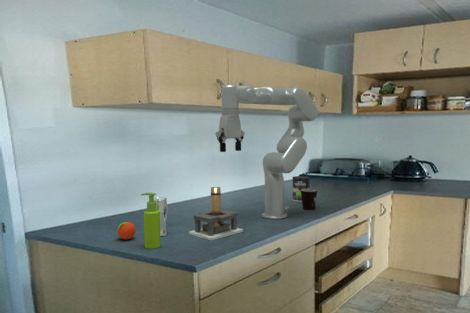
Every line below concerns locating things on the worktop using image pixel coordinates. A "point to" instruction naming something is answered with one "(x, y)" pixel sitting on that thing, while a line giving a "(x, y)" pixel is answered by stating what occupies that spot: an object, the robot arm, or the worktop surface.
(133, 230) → the clementine
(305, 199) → the coffee mug
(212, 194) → the thermos bottle
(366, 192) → the worktop surface
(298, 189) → the coffee can
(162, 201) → the beer glass
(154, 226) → the soap dispenser
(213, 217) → the collar stand
